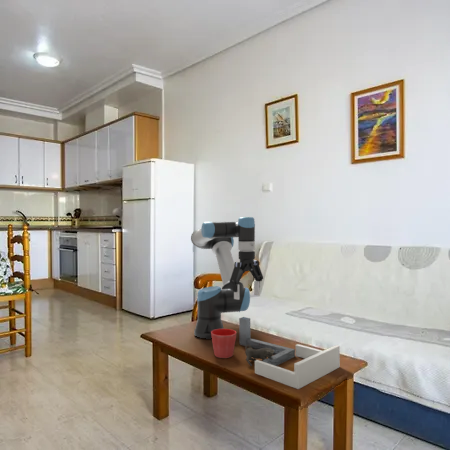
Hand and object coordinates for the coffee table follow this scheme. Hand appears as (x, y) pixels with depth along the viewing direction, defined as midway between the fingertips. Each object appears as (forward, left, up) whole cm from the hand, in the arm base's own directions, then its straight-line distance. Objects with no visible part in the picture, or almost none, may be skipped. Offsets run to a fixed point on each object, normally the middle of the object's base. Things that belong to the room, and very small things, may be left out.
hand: (247, 297), depth 170 cm
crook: (+12, -9, -21) cm, 26 cm away
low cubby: (+35, -10, -21) cm, 42 cm away
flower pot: (+3, -18, -22) cm, 28 cm away
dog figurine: (+20, -14, -22) cm, 33 cm away
